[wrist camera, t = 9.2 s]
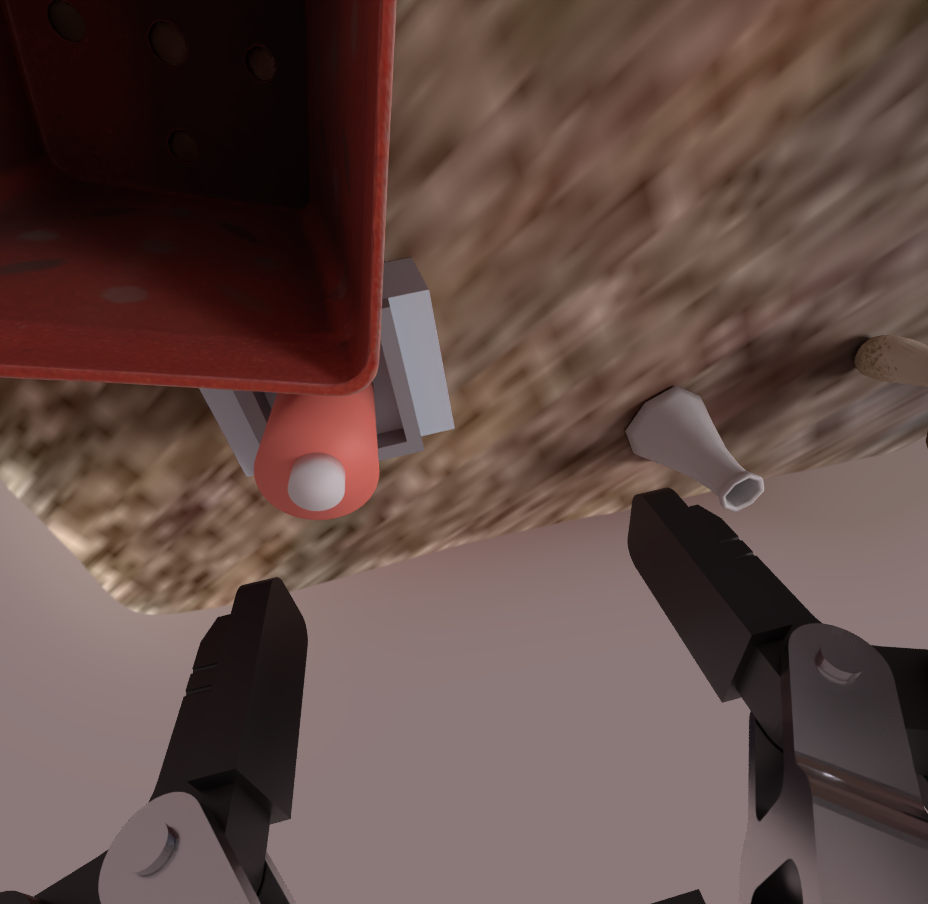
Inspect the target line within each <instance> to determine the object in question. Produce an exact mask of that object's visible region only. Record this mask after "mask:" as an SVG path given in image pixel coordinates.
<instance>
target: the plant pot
mask: <svg viewBox="0 0 928 904" xmlns="http://www.w3.org/2000/svg"><path fill="white" fill-rule="evenodd" d="M53 1H55V0H0V377H2V378H20V379H40V380H64V381H87V382H105V383H123V384H140V385H157V386H174V387H190V388H205V389H220V390H238V391H259V392H272V393H284V394H304V395H319V396H336V397H338V396H350V395H353V394H356V393H359V392H361V391H362V390H364V389H365V388H366V387H368V386H369V385H370V383H371V382H372V381H373V379H374V378H375V376H376V374H377V370H378V366H379V357H380V338H381V314H382V290H383V267H384V245H385V223H386V201H387V179H388V158H389V138H390V118H391V100H392V81H393V62H394V43H395V22H396V1H397V0H61V1H64V2H67V3H70V4H71V5H72V6H73V7H75V8H76V9H77V10H78V12H79V13H80V14H81V16H82V19H83V21H84V24H85V29H86V30H85V35H84V37H83V39H82V40H80V41H79V42H70V41H68V40H66V39H64V38H62V37H61V36H60V35H59V34H57V32H56V31H55V30H54V29H53V27H52V25H51V23H50V21H49V18H48V14H47V13H48V6H49V5H50V3H51V2H53ZM158 21H164V22H169V23H171V24H172V25H174V26H175V27H177V28H178V30H179V31H180V32H181V33H182V35H183V37H184V39H185V42H186V46H187V53H186V58H185V61H184V62H183V63H182V64H180V65H176V66H171V65H168V64H165V63H164V62H162V61H161V60H160V59H159V58H158V57H157V56H156V55H155V54H154V52H153V51H152V49H151V46H150V43H149V40H148V34H149V31H150V29H151V27H152V25H153V24H154V23H156V22H158ZM256 45H257V46H262V47H264V48H266V49H267V50H268V51H269V52H270V54H271V55H272V57H273V59H274V63H275V68H276V69H275V72H274V73H275V74H274V76H273V77H272V79H270V80H268V81H258V80H256V79H255V78H254V77H253V76H252V75H251V73H250V72H249V70H248V69H247V66H246V61H245V60H246V54H247V51H248V50H251V49H253V46H256ZM177 129H179V130H183V131H186V132H187V133H189V134H190V135H191V136H192V137H193V139H194V140H195V141H196V144H197V147H198V152H197V156H196V158H195V159H194V161H190V162H184V161H181V160H179V159H177V158H176V157H175V156H174V155H173V154H172V153H171V151H170V150H169V146H168V139H170V137H171V135H172V134H171V133H172V131H173V130H177Z"/></svg>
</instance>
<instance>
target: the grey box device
mask: <svg viewBox="0 0 928 904" xmlns="http://www.w3.org/2000/svg"><path fill="white" fill-rule="evenodd" d="M372 382H373V386H374V400H375V415H376V430H377V445H378V460H379V461H381V460H385V459H390V458H394V457H398V456H402V455H407V454H411V453H415V452H419V451H424V447H423V443H422V438H421V436H424V435H429V434H433V433H437V432H442V431H446V430H450V429H455V428H454V423H453V417H452V412H451V406H450V401H449V396H448V390H447V385H446V379H445V374H444V369H443V363H442V358H441V352H440V347H439V342H438V336H437V331H436V325H435V320H434V315H433V309H432V304H431V298H430V293H429V289H428V287H427V285H426V283H425V281H424V280H423V278H422V276H421V274H420V272H419V270H418V268H417V266H416V265H415V263H414V261H413V259H412V257H410V258H405V259H400V260H395V261H390V262H385V263H384V267H383V290H382V314H381V338H380V357H379V366H378V370H377V374H376V376H375V378H374V379H373V381H372ZM199 389H200V391H201V393H202V395H203V397H204V398H205V400H206V402H207V404H208V406H209V408H210V410H211V411H212V413H213V415H214V417H215V419H216V421H217V423H218V424H219V426H220V428H221V430H222V432H223V434H224V436H225V437H226V439H227V441H228V443H229V445H230V447H231V449H232V450H233V452H234V454H235V456H236V458H237V460H238V462H239V463H240V465H241V467H242V469H243V471H244V473H245V475H246V476H247V477H248V476H253V475H254V462H255V458H256V455H257V452H258V449H259V446H260V443H261V440H262V437H263V434H264V431H265V428H266V425H267V422H268V419H269V416H270V413H271V410H272V407H273V404H274V401H275V398H276V395H277V393H272V392H259V391H238V390H220V389H205V388H199Z"/></svg>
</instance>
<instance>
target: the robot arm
mask: <svg viewBox="0 0 928 904" xmlns="http://www.w3.org/2000/svg"><path fill="white" fill-rule="evenodd" d="M628 549H629V553H630V556H631V559H632V561H633V563H634V565H635V567H636V569H637V570H638V572H639V573H640V575H641V576H642V578H643V579H644V581H645V583H646V584H647V586H648V587H649V589H650V590H651V592H652V594H653V595H654V597H655V598H656V600H657V601H658V603H659V605H660V606H661V608H662V609H663V611H664V612H665V614H666V615H667V617H668V619H669V620H670V622H671V623H672V625H673V626H674V628H675V630H676V631H677V632H678V634H679V636H680V637H681V639H682V641H683V642H684V644H685V645H686V647H687V648H688V650H689V651H690V653H691V655H692V656H693V658H694V659H695V661H696V662H697V664H698V665H699V667H700V669H701V670H702V672H703V673H704V675H705V676H706V678H707V680H708V681H709V683H710V684H711V686H712V687H713V689H714V691H715V692H716V694H717V695H718V697H719V698H720V700H721V701H722V702H726V701H729V700H734V699H737V698H740V697H742V698H743V700H744V701H745V703H746V704H747V706H748V707H749V709H750V710H751V712H750V716H749V773H748V776H749V777H748V824H747V832H746V837H745V840H744V844H743V849H742V856H741V865H740V889H739V904H928V814H927V812H926V810H925V808H926V809H927V810H928V650H926V649H911V648H896V647H882V646H874V645H870V644H869V643H867V642H866V641H865V640H863V639H862V638H860V637H859V636H857V635H855V634H853V633H851V632H849V631H847V630H844V629H842V628H839V627H836V626H833V625H828V624H822V623H821V622H820V621H819V620H817V619H816V618H815V617H814V616H813V615H812V614H811V613H810V612H809V611H808V610H807V609H806V608H805V607H804V605H803V604H802V603H801V602H800V601H799V600H798V599H797V598H796V597H795V596H794V595H793V594H792V593H791V592H790V591H789V590H788V589H787V587H786V586H785V585H784V584H783V583H782V582H781V581H780V580H779V579H778V578H777V577H776V576H775V575H774V574H773V573H772V572H771V571H770V569H769V568H768V567H767V566H766V565H765V564H764V563H763V562H762V561H761V560H760V559H759V558H758V557H757V556H754V555H753V552H752V550H751V549H750V548H749V547H748V546H747V545H746V544H745V543H744V542H743V541H742V540H741V541H740V540H739V538H738V535H736V533H734V531H733V530H732V529H731V528H730V527H729V526H728V525H727V524H726V523H725V522H724V521H723V520H722V519H721V518H720V517H718V516H716V515H715V514H713V513H711V512H709V511H708V510H706V509H704V508H703V507H701V506H699V505H694V506H690V507H688V506H687V505H686V503H685V502H684V501H683V500H682V499H681V498H680V497H679V496H678V494H677V493H676V492H675V491H674V490H672V489H671V488H663V489H658V490H654V491H650V492H646V493H641V494H637V495H635V496H634V497H633V501H632V508H631V516H630V525H629V533H628ZM307 647H308V637H307V629H306V624H305V621H304V618H303V616H302V614H301V613H300V611H299V609H298V607H297V606H296V604H295V602H294V600H293V599H292V597H291V595H290V593H289V592H288V590H287V588H286V586H285V585H284V583H283V581H282V580H281V579H280V578H279V577H275V578H271V579H267V580H262V581H258V582H254V583H250V584H245V585H242V586H240V587H239V589H238V590H237V593H236V596H235V600H234V604H233V608H232V611H231V614H229V615H225V616H221V617H218V618H217V619H216V621H215V622H214V623H213V625H212V626H211V628H210V629H209V631H208V632H207V634H206V635H205V637H204V638H203V640H202V641H201V643H200V646H199V649H198V652H197V655H196V659H195V662H194V665H193V674H191V675H190V678H189V681H188V685H187V688H186V696H185V697H184V698H183V701H182V704H181V707H180V710H179V714H178V717H177V720H176V723H175V727H174V730H173V733H172V736H171V740H170V743H169V746H168V749H167V752H166V756H165V759H164V762H163V766H162V769H161V772H160V775H159V778H158V781H157V784H156V787H155V790H154V792H153V794H152V796H151V798H150V800H149V803H148V804H146V805H145V806H144V807H142V808H141V809H140V810H139V811H137V812H136V813H135V814H134V815H133V816H132V817H131V818H130V819H129V820H128V822H127V823H126V824H125V825H124V826H123V828H122V829H121V830H120V832H119V833H118V835H117V836H116V837H115V839H114V841H113V842H112V844H111V846H110V848H109V849H108V850H107V851H105V852H104V853H103V854H101V855H100V856H98V857H97V858H95V859H94V860H92V861H90V862H89V863H87V864H85V865H84V866H82V867H80V868H79V869H77V870H76V871H74V872H72V873H71V874H69V875H68V876H66V877H64V878H63V879H61V880H60V881H58V882H56V883H55V884H53V885H51V886H50V887H48V888H47V889H45V890H43V891H42V892H40V893H39V894H37V895H35V896H34V897H33V896H30V895H26V894H23V893H20V892H17V891H5V892H0V904H297V903H296V902H295V900H294V898H293V896H292V895H291V893H290V891H289V889H288V888H287V886H286V884H285V882H284V881H283V879H282V877H281V875H280V874H279V872H278V870H277V868H276V867H275V865H274V863H273V861H272V860H271V858H270V856H269V854H268V853H267V852H266V848H267V841H268V832H269V825H270V824H273V823H277V822H281V821H284V820H288V819H291V809H292V799H293V789H294V779H295V768H296V758H297V747H298V737H299V728H300V718H301V708H302V697H303V687H304V677H305V667H306V657H307ZM924 806H925V808H924ZM652 904H705V902H704V899H703V897H702V895H701V893H700V891H699V889H698V890H694V891H691V892H688V893H685V894H682V895H678V896H675V897H672V898H668V899H665V900H662V901H659V902H655V903H652Z"/></svg>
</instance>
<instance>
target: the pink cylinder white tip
mask: <svg viewBox="0 0 928 904" xmlns="http://www.w3.org/2000/svg"><path fill="white" fill-rule="evenodd" d="M254 477H255V480H256V484H257V486H258V488H259V490H260V491H261V493H262V494H263V496H264V497H265V498H266V499H267V500H268V501H269V502H270V503H271V504H272V505H274V506H275V507H276V508H278V509H280V510H281V511H283V512H285V513H287V514H290V515H292V516H296V517H299V518H304V519H311V520H326V519H333V518H338V517H341V516H344V515H347V514H349V513H351V512H353V511H355V510H357V509H358V508H360V507H361V506H362V505H363V504H365V503H366V502H367V501H368V500H369V498H370V497H371V496H372V494H373V493H374V491H375V489H376V487H377V484H378V480H379V460H378V445H377V430H376V415H375V400H374V386H373V382H371V383H370V385H369V386H368V387H366V388H365V389H364V390H362V391H361V392H359V393H356V394H353V395H350V396H338V397H336V396H319V395H304V394H284V393H277V395H276V398H275V401H274V404H273V407H272V410H271V413H270V416H269V419H268V422H267V425H266V428H265V431H264V434H263V437H262V440H261V443H260V446H259V449H258V452H257V455H256V458H255V462H254Z"/></svg>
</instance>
